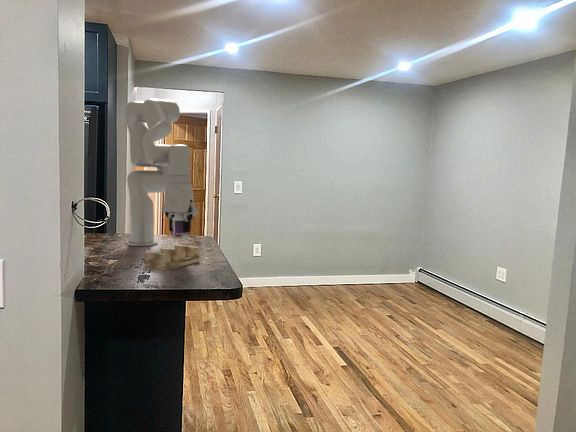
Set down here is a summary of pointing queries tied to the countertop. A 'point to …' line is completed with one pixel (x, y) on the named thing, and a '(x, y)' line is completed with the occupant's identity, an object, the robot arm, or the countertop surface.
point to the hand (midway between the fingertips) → (179, 231)
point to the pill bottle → (178, 227)
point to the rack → (172, 257)
